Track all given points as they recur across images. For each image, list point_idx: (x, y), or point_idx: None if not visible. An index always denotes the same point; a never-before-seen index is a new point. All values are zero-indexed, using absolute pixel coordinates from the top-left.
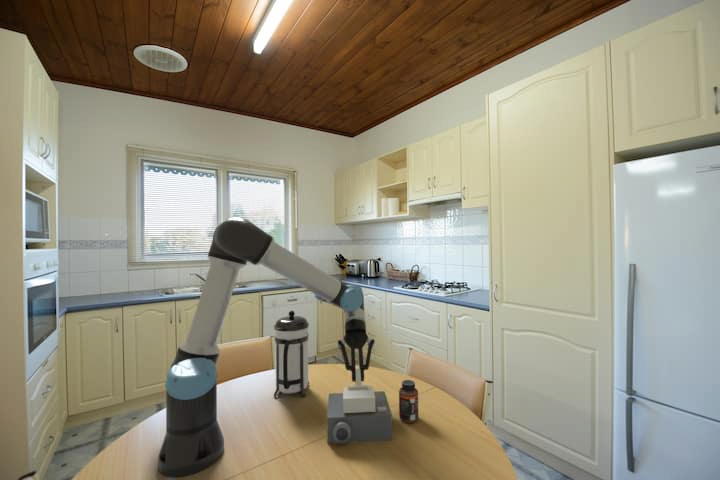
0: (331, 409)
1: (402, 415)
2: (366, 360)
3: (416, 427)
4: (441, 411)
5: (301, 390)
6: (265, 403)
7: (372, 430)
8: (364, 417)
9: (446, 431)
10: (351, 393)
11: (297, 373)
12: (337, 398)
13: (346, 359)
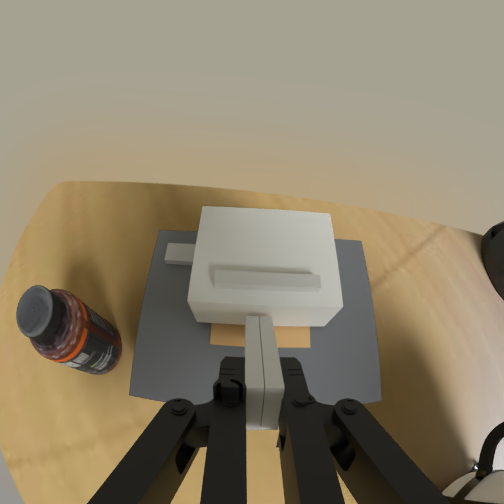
0: (358, 283)
1: (112, 330)
2: (174, 437)
3: (98, 305)
4: (22, 353)
5: None
6: None
7: None
8: None
9: (53, 277)
10: (300, 246)
11: (483, 494)
12: (346, 360)
13: (376, 443)
